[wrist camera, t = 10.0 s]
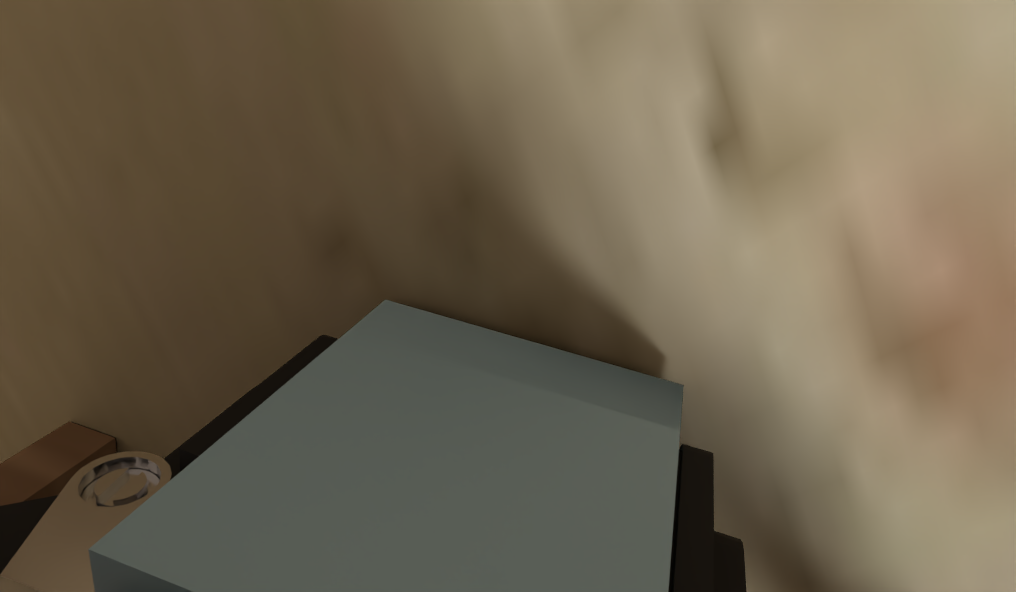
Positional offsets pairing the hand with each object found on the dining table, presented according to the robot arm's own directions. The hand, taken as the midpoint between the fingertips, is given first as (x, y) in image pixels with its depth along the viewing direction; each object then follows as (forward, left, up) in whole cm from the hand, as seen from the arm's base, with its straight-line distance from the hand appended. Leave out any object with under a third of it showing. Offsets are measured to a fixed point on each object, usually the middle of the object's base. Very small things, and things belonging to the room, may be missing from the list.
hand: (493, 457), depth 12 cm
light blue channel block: (+6, 0, -1) cm, 6 cm away
